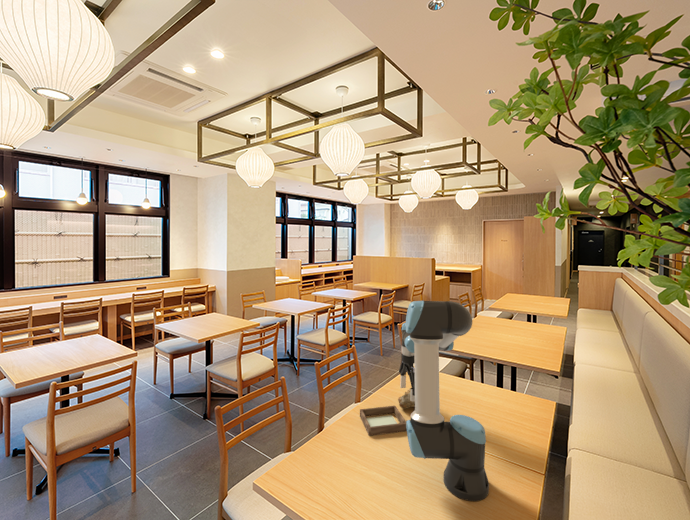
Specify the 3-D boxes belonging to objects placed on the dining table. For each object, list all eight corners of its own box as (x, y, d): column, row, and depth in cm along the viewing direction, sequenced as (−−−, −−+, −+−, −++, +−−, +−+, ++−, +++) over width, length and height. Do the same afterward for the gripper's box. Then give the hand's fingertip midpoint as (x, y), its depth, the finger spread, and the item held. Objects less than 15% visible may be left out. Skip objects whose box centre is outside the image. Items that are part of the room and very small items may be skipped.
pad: (400, 428, 152) (400, 427, 152) (372, 431, 149) (372, 431, 149) (391, 415, 162) (391, 414, 162) (366, 418, 160) (366, 417, 160)
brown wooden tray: (407, 431, 150) (407, 423, 150) (368, 435, 146) (368, 428, 146) (395, 412, 165) (395, 405, 165) (359, 416, 162) (359, 409, 161)
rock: (420, 414, 164) (420, 394, 163) (399, 413, 164) (399, 394, 163) (415, 401, 176) (416, 383, 175) (396, 401, 176) (396, 383, 175)
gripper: (426, 362, 156) (425, 406, 158) (406, 344, 181) (405, 382, 183) (411, 364, 155) (410, 407, 157) (393, 345, 179) (392, 383, 181)
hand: (408, 394), depth 170 cm, fingers open, 13 cm apart
